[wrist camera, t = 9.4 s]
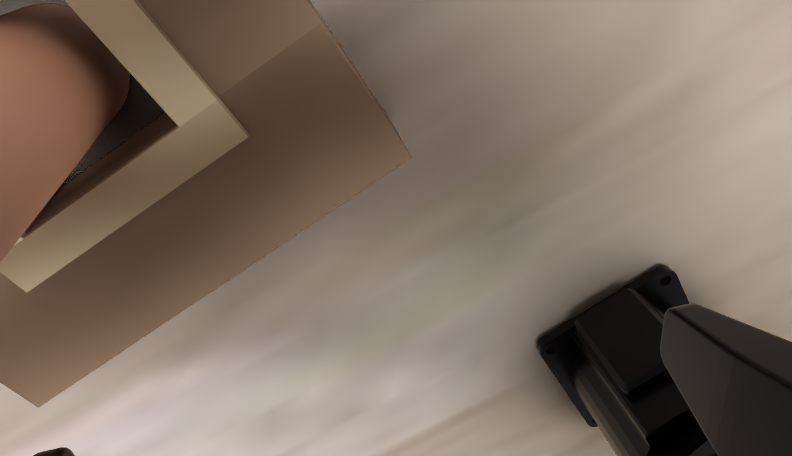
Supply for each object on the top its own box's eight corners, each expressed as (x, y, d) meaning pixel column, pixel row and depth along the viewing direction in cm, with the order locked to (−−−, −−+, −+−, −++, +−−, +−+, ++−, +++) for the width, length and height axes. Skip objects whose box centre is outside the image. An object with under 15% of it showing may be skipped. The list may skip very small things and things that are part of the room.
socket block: (391, 122, 19) (413, 161, 16) (69, 342, 21) (34, 414, 18) (46, -389, 13) (-26, -486, 9) (-392, -5, 14) (-573, 18, 11)
